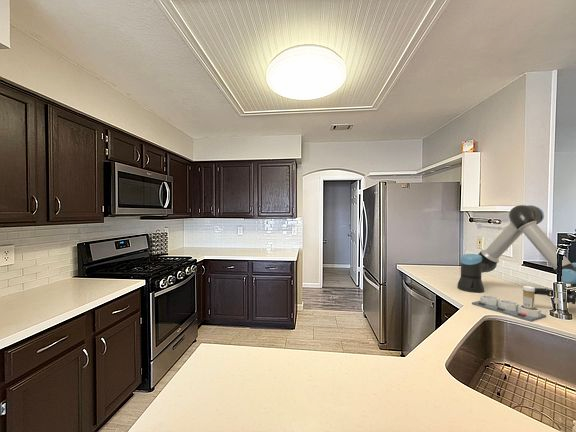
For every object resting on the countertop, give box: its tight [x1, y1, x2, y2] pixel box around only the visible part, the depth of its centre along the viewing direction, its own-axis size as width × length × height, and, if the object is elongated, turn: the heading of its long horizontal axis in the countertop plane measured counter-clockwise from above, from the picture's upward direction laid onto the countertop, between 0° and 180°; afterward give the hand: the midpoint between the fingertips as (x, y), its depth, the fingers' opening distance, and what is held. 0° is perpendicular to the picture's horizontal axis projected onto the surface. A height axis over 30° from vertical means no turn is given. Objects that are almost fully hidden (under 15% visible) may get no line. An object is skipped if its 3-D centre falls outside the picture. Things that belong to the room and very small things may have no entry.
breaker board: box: [471, 294, 547, 323], centre depth 145 cm, size 27×15×4 cm, turn 26°
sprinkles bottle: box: [522, 285, 536, 310], centre depth 138 cm, size 5×5×14 cm
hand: (539, 296), depth 140 cm, fingers open, 13 cm apart
